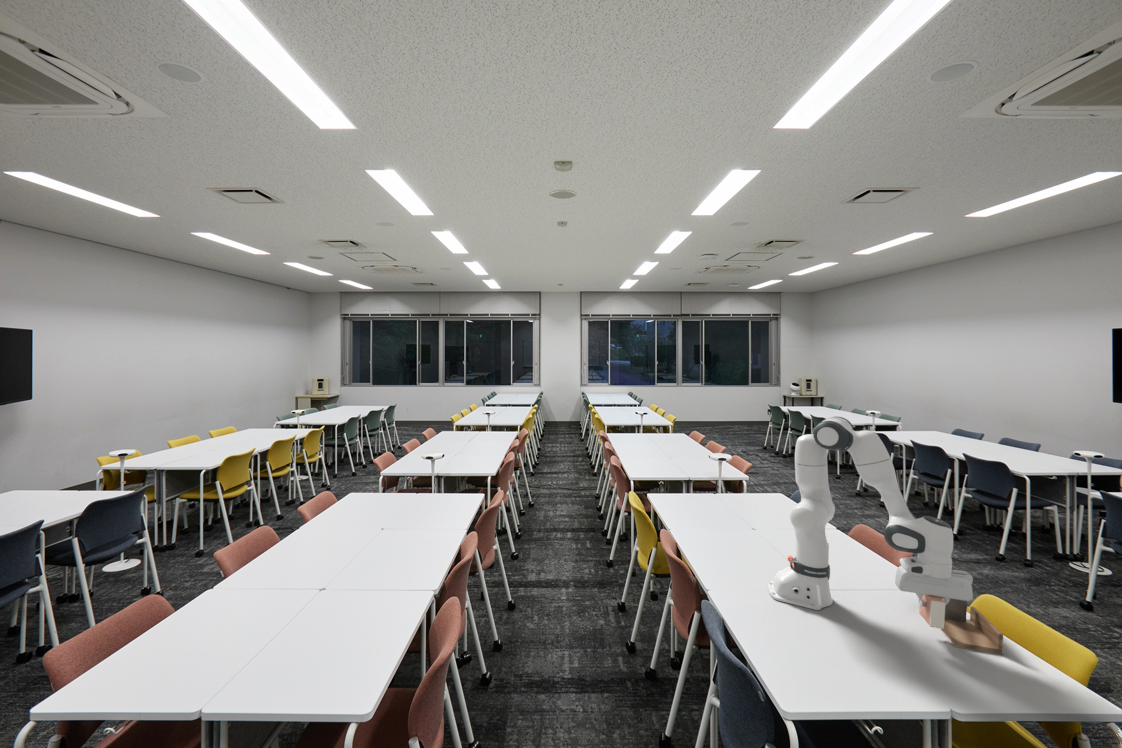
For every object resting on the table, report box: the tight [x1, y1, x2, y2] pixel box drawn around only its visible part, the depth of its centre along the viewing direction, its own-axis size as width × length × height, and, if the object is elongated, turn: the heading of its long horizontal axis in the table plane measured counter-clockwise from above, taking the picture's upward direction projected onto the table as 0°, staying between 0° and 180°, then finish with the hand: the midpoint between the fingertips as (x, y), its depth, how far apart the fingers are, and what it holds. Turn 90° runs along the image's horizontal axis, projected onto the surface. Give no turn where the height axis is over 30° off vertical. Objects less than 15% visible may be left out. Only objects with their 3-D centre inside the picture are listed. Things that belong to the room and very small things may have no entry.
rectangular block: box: [918, 594, 945, 630], centre depth 147 cm, size 4×8×9 cm, turn 161°
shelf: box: [940, 606, 1004, 655], centre depth 148 cm, size 12×16×6 cm
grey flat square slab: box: [941, 597, 968, 622], centre depth 154 cm, size 8×1×8 cm, turn 71°
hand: (931, 607), depth 147 cm, fingers closed on rectangular block, 3 cm apart
